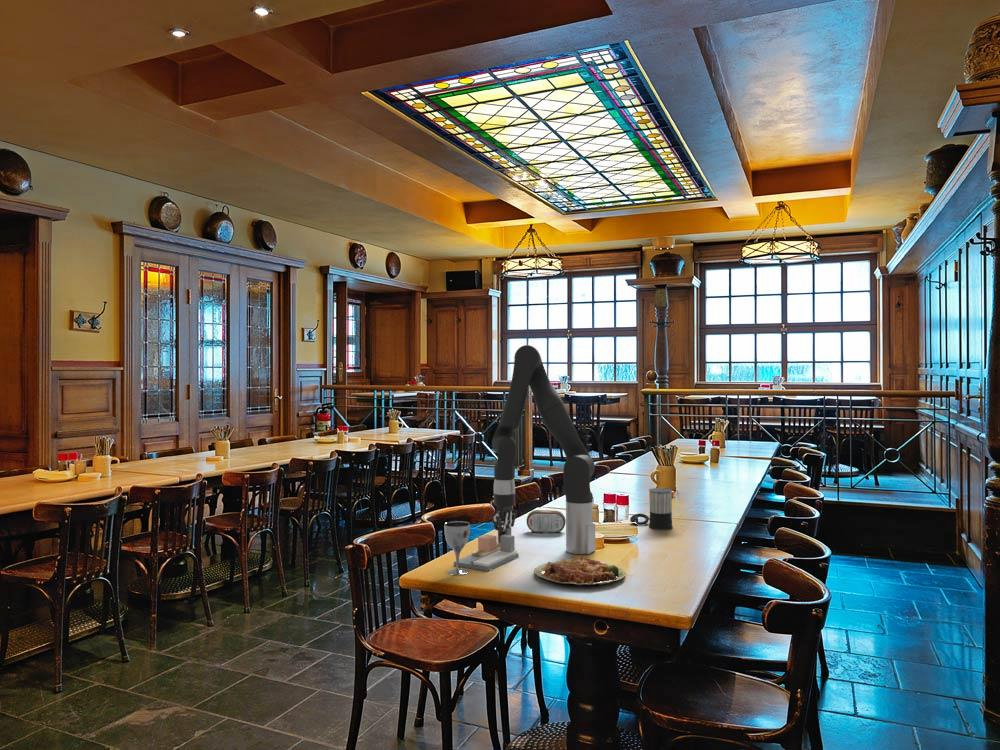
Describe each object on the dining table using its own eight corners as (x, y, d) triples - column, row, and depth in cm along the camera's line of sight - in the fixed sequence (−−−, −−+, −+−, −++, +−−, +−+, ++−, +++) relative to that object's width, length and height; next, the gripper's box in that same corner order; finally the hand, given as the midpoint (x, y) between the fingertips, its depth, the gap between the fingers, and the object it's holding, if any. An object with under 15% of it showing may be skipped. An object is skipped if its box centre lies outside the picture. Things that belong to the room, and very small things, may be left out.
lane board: (518, 557, 232) (518, 550, 232) (488, 571, 216) (488, 564, 216) (485, 552, 239) (485, 545, 239) (453, 565, 223) (453, 558, 223)
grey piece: (513, 545, 243) (513, 528, 243) (485, 557, 228) (485, 539, 227) (499, 543, 246) (499, 526, 246) (471, 555, 230) (471, 537, 230)
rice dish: (558, 562, 230) (557, 546, 230) (638, 571, 216) (638, 553, 216) (517, 586, 205) (516, 567, 206) (605, 596, 191) (604, 577, 192)
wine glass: (446, 568, 219) (445, 521, 219) (471, 568, 219) (470, 521, 219) (443, 575, 211) (442, 526, 211) (469, 576, 211) (468, 526, 211)
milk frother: (675, 529, 270) (674, 491, 269) (634, 529, 270) (633, 491, 270) (667, 521, 284) (667, 485, 284) (628, 521, 284) (628, 485, 284)
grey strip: (516, 553, 232) (516, 536, 232) (487, 566, 216) (487, 548, 216) (502, 551, 235) (502, 534, 235) (472, 564, 219) (472, 545, 219)
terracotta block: (496, 549, 234) (496, 536, 234) (489, 552, 231) (489, 538, 231) (485, 547, 237) (485, 534, 237) (478, 550, 233) (478, 537, 233)
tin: (565, 531, 268) (565, 510, 268) (565, 533, 265) (565, 511, 265) (526, 531, 269) (526, 509, 269) (526, 533, 266) (526, 511, 266)
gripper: (503, 495, 235) (503, 546, 235) (523, 489, 247) (523, 538, 247) (484, 494, 239) (484, 544, 239) (505, 488, 251) (505, 535, 251)
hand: (504, 540), depth 243 cm, fingers closed on grey piece, 2 cm apart
